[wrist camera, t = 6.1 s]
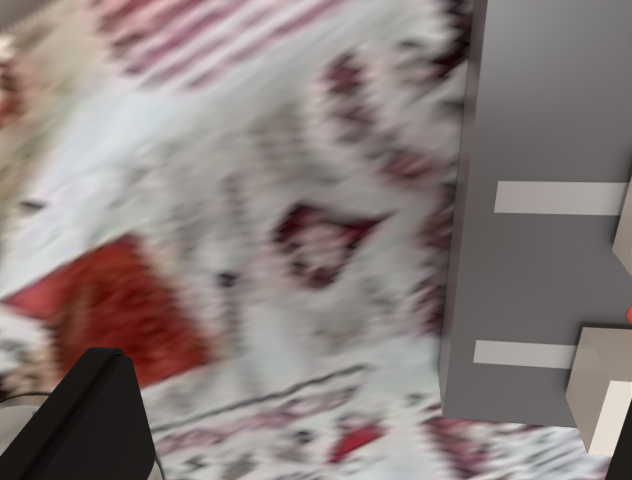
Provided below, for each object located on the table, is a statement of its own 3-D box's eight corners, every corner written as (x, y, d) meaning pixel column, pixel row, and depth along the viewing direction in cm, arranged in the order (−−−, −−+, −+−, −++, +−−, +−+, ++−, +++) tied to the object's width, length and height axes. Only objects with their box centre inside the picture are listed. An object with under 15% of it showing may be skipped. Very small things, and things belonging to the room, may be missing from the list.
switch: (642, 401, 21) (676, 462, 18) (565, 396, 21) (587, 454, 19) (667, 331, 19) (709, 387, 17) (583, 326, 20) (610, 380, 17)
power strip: (673, 387, 24) (706, 439, 22) (438, 371, 26) (442, 418, 23) (904, -207, 14) (1022, -248, 11) (490, -173, 16) (510, -202, 13)
